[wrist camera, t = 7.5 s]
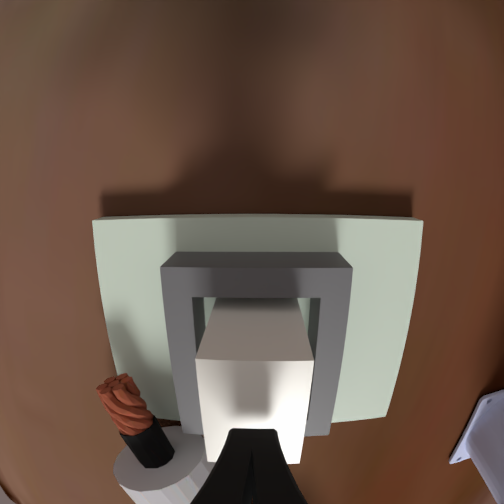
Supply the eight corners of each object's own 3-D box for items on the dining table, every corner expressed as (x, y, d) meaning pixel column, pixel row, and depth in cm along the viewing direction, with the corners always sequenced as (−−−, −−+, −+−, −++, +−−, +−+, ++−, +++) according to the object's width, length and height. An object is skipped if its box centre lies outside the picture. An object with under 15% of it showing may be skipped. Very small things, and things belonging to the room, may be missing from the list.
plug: (295, 289, 15) (314, 360, 9) (289, 377, 16) (299, 463, 10) (219, 289, 15) (195, 358, 9) (223, 376, 16) (207, 461, 10)
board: (412, 217, 15) (449, 230, 11) (380, 404, 18) (397, 443, 14) (103, 216, 15) (65, 229, 12) (134, 402, 18) (114, 439, 15)
